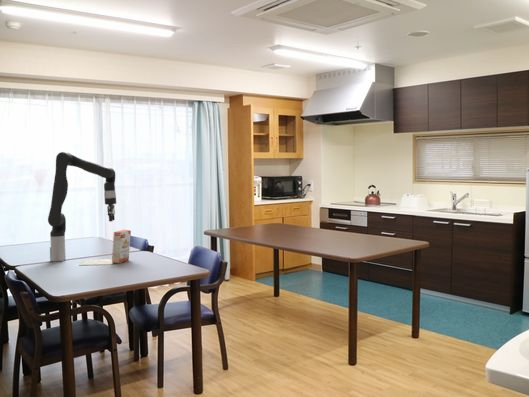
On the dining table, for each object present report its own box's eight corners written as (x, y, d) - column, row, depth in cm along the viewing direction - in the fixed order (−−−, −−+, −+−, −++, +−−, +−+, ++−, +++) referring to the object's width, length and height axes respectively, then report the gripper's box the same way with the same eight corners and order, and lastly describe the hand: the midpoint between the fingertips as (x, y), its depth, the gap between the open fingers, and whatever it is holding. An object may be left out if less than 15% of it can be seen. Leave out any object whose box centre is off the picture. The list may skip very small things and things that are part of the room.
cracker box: (119, 263, 326) (121, 232, 325) (111, 262, 328) (113, 231, 326) (129, 260, 340) (131, 230, 338) (121, 259, 341) (123, 229, 340)
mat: (79, 265, 322) (79, 265, 322) (85, 260, 340) (85, 259, 340) (112, 264, 325) (112, 263, 325) (117, 259, 342) (117, 258, 342)
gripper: (106, 197, 343) (108, 220, 344) (102, 198, 329) (104, 222, 330) (117, 196, 344) (119, 219, 345) (114, 197, 330) (115, 221, 331)
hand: (111, 220), depth 337 cm, fingers open, 8 cm apart
